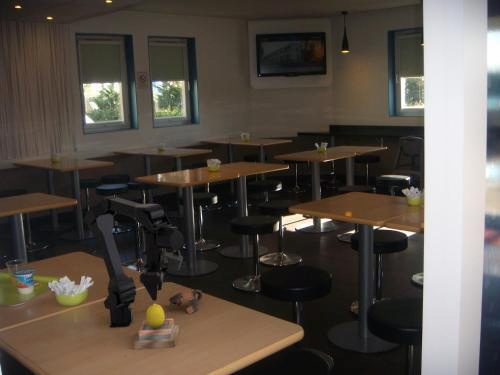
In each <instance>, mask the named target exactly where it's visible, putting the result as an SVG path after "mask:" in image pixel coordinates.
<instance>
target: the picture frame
mask: <svg viewBox="0 0 500 375" xmlns="http://www.w3.org/2000/svg"><path fill="white" fill-rule="evenodd" d="M179 325H180V324H174V318H165V319H164V322H163V324H162V325H161V326H159V327H158V328H157V329H155V328H154V327H151V326H150V325H149V324H148V323H147V320H146V319H145V320H144V319H143V321H142V324H141V326H140V327H139V330H138V331H137V334H136V337H135V339H134V342H133V350H144V349H146V350H147V349H161V348H163V349H164V348H165V349H166V348H175V347H176V344H177V340H178V338H179V333H180V326H179Z"/></svg>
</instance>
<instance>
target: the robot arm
mask: <svg viewBox="0 0 500 375" xmlns="http://www.w3.org/2000/svg"><path fill="white" fill-rule="evenodd" d="M117 213H118V214H121V215H124V216H128V217H131V218H133V219H134V221H135V222H136V223H138V225H139V224H140V226H139V227H138V229H137V231H138V232H142V236H143V238H142V239H143V252H142V255H143V256H144V265H143V268H144V269H143V270H142V271H141V273H140V274H139V283H141V284H142V285H143V287H144V288H145V289H146V291H147V294H148V295H149V296H150V298H151V300H152V301H154V302H156V301H157V299H158V291H162V287H163V283H164V282H163V281H164V276H165V272H166V271H167V270H168V269H169V268H171V269H174V270H176V271H179V270H180V269H181V265H182V262H183V259H184V257H183V255H181V248H182V247H183V245H184V241H185V236H183V233H182V232H181V231H180V230H179V227H178V226H173V224H172V222H171V219H169V217H168V215H167V214H166V212H165V210H164V209H163V206H162V205H161V204H159V203H139V202H135V201H132V200H128V199H124V198H121V197H119V196H117V195H112V196H111V195H110V196H105V197H104V198H102V199H101V200H100V201H99V203H97V204H95V205H94V206H92V207H91V208H90V209H89V210H87V212H86V213H85V216H84V220H85V223H86V225H87V228H88V230H89V232H91V233H92V234H93V235H94V236H95V237H96V239H97V242H98V246H99V249H100V252H101V255H102V258H103V261H104V265H105V268H106V271H107V274H108V278H109V281H108V285H107V293H108V295H107V297H106V298H105V299H104V301H103V305H104V308H105V309H106V310H109V316H110V317H109V318H110V324H109V327H110V328H120V327H122V328H123V327H130V326H131V324H132V323H133V320H134V313H133V312H134V311H133V308H132V307H131V304H134V303H135V301H136V300H135V299H136V295H137V290H136V289H137V287H136V284H135V282H134V281H135V280H134V278H133V277H132V276H130V277H129V276H128V274H126V273H125V270H124V267H123V264H122V261H121V257H120V255H119V252H118V248H117V245H116V241H115V239H114V235H113V228H114V223H115V222H114V216H115V215H116V214H117ZM166 249H167V250H172V251H173V252H167V250H166Z"/></svg>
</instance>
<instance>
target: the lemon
mask: <svg viewBox="0 0 500 375" xmlns="http://www.w3.org/2000/svg"><path fill="white" fill-rule="evenodd" d="M164 319H166V316H165V311H164V309H163V307H162V306H161V305H160V304H157V303H152V304H151V305H150V306H149V307H148V308H147V310H146V313H145V320H147V323H148V324H149V325H150V326H151V327H154V328H155V329H157V328H158V327H159V326H161V325H162V324H163V322H164Z"/></svg>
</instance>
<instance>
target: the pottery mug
mask: <svg viewBox="0 0 500 375" xmlns="http://www.w3.org/2000/svg"><path fill="white" fill-rule="evenodd" d="M196 295H197V298H196ZM203 296H204V295H203V292H202V290H200V289H195V290H193V291H189V290H188V288H185V289H183V290H181V291H180V292H178V293H176V294H174V295H173V296H170V298H168V301H169V306H171V307H173V306H174V305H176V306H177V307H181V306H182V305H183V302H182V300H181V299H182V298H183V300H184V301H185V302H187V303H188V304H189V306H188V307H187V308H185V310H186V312H187V314H188V315H191V314H193V313H194V312H196V311H198V310H199V303H200V302H201V301H202V299H203Z"/></svg>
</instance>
